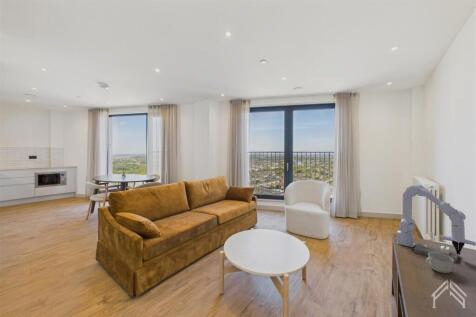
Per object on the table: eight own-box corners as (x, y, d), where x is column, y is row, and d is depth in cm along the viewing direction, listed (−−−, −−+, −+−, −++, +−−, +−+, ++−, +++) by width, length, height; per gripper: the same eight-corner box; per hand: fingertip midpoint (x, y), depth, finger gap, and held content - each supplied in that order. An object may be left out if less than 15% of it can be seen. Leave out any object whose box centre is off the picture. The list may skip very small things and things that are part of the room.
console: (414, 252, 146) (413, 248, 145) (418, 246, 153) (417, 243, 153) (456, 262, 130) (456, 258, 130) (458, 255, 138) (458, 251, 138)
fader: (440, 252, 138) (440, 247, 138) (441, 250, 142) (441, 245, 141) (448, 254, 135) (448, 249, 135) (449, 252, 138) (449, 247, 138)
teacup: (443, 265, 128) (442, 252, 128) (460, 275, 117) (459, 261, 117) (417, 265, 129) (417, 252, 129) (432, 275, 118) (431, 261, 118)
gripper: (440, 230, 136) (441, 252, 137) (475, 236, 125) (475, 260, 126) (442, 227, 141) (443, 248, 141) (475, 233, 130) (476, 256, 130)
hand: (458, 253), depth 134 cm, fingers closed
